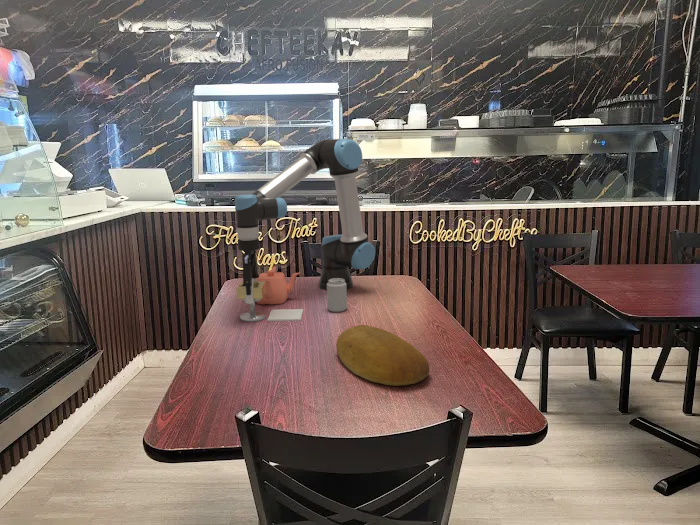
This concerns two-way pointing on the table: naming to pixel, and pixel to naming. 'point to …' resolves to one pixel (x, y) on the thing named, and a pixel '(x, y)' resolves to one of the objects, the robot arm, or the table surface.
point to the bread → (381, 356)
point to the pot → (276, 287)
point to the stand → (252, 312)
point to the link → (258, 290)
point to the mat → (285, 315)
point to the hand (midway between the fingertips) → (252, 299)
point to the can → (336, 295)
